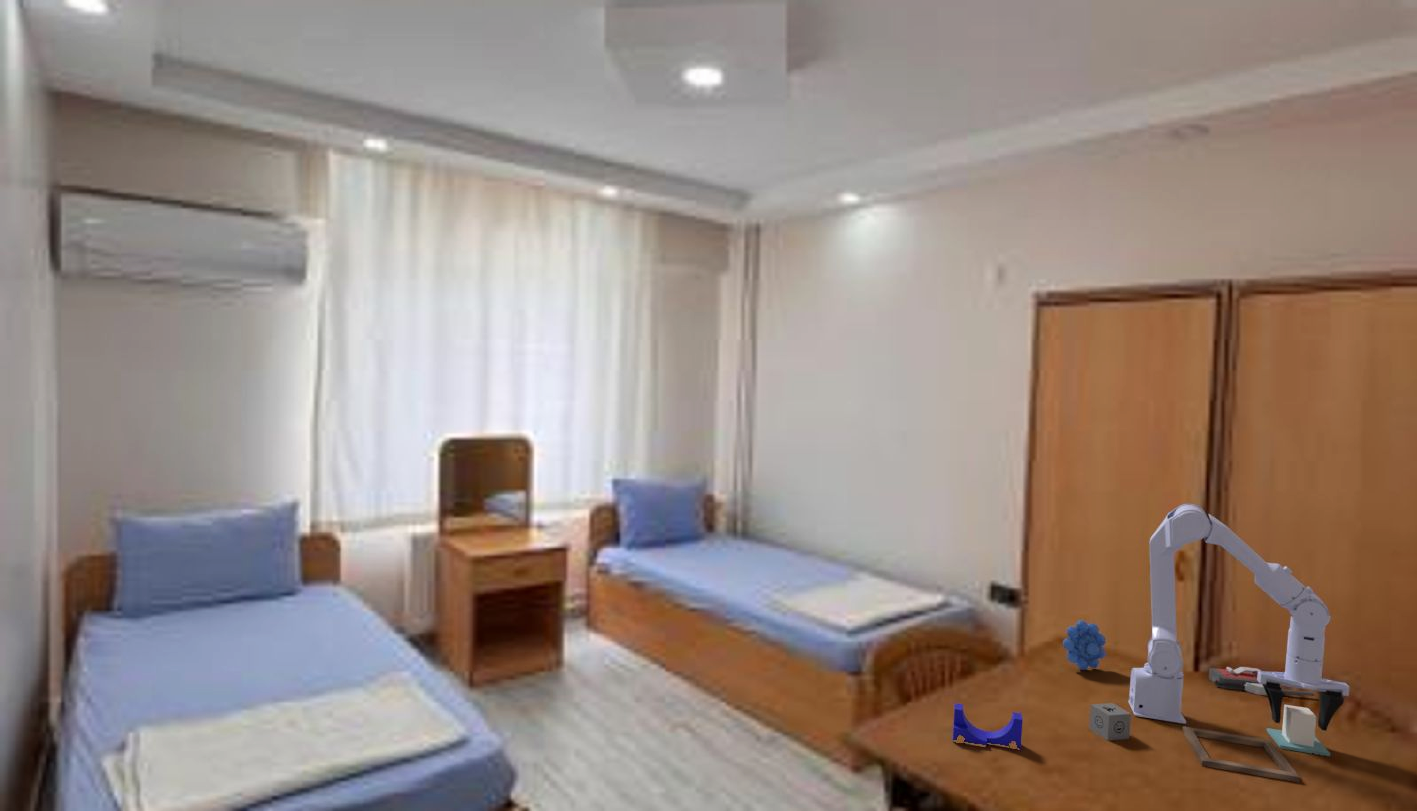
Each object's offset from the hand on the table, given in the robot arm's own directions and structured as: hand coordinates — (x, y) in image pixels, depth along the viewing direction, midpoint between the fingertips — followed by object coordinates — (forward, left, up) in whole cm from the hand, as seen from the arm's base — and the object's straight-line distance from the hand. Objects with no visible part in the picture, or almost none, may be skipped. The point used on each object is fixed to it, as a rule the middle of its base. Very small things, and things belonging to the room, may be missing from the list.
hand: (1298, 724), depth 157 cm
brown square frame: (-13, -11, -4) cm, 17 cm away
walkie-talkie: (+2, +30, -4) cm, 31 cm away
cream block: (0, 0, -3) cm, 3 cm away
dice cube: (-35, -11, -4) cm, 37 cm away
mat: (0, 0, -4) cm, 4 cm away
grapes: (-35, +24, -4) cm, 43 cm away
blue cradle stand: (-58, -26, -4) cm, 63 cm away
